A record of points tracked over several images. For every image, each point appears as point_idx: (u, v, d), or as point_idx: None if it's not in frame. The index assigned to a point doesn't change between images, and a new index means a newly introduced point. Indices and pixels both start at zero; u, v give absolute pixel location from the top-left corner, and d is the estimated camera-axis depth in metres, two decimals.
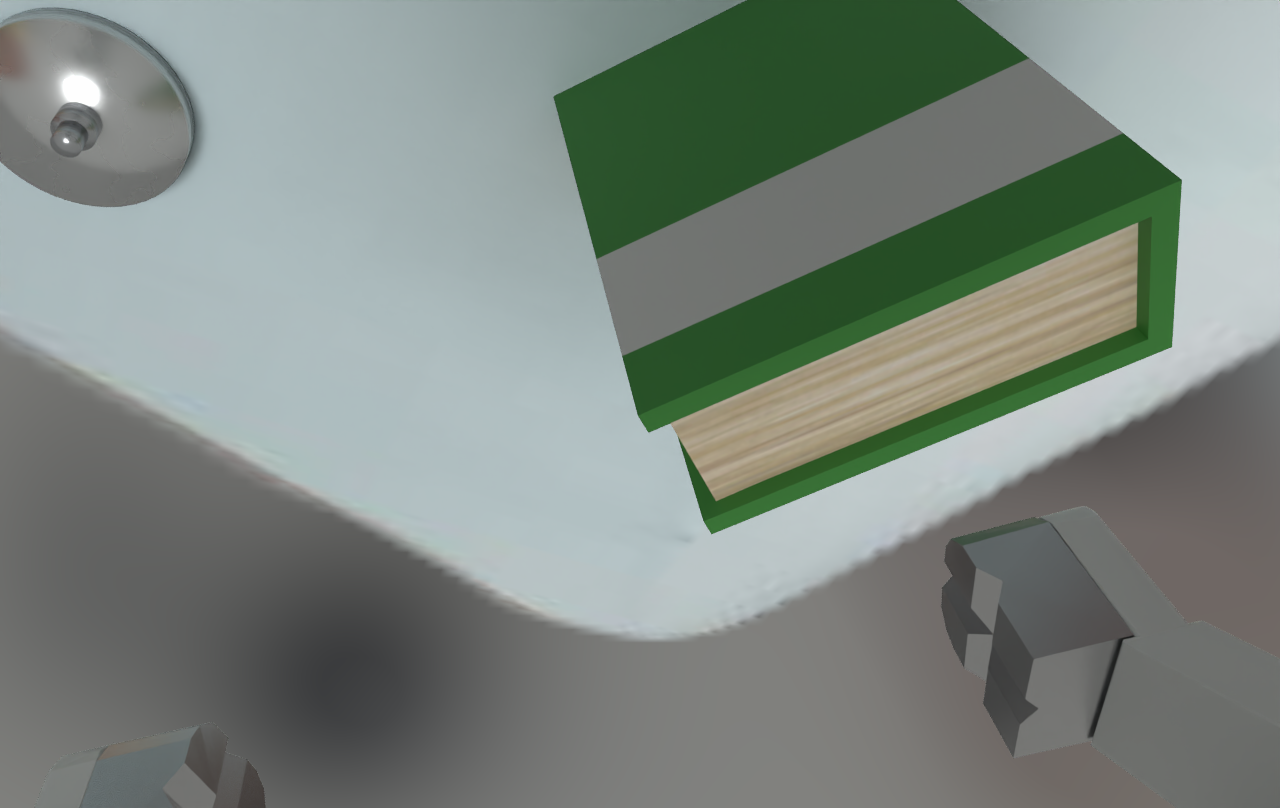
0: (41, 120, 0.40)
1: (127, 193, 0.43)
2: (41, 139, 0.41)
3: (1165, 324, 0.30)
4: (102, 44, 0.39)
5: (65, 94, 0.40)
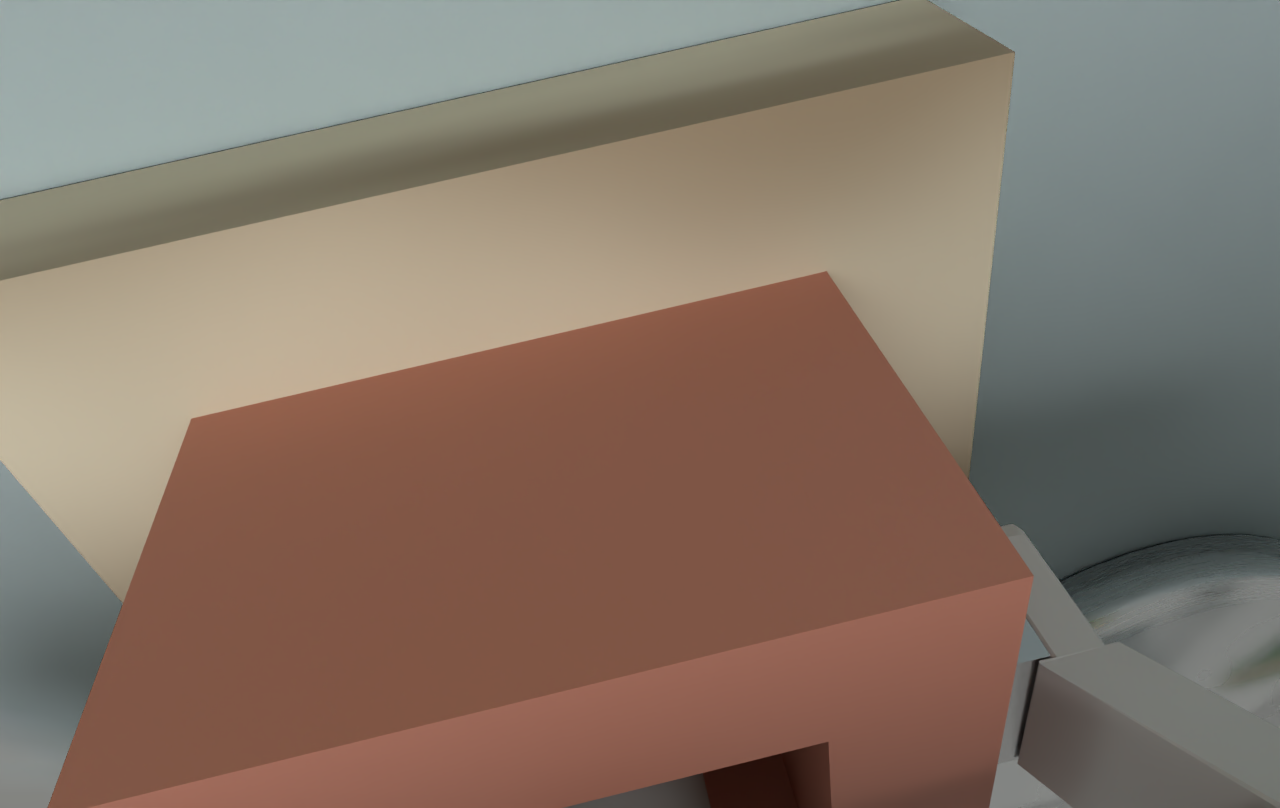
0: None
1: None
2: None
3: None
4: None
5: None
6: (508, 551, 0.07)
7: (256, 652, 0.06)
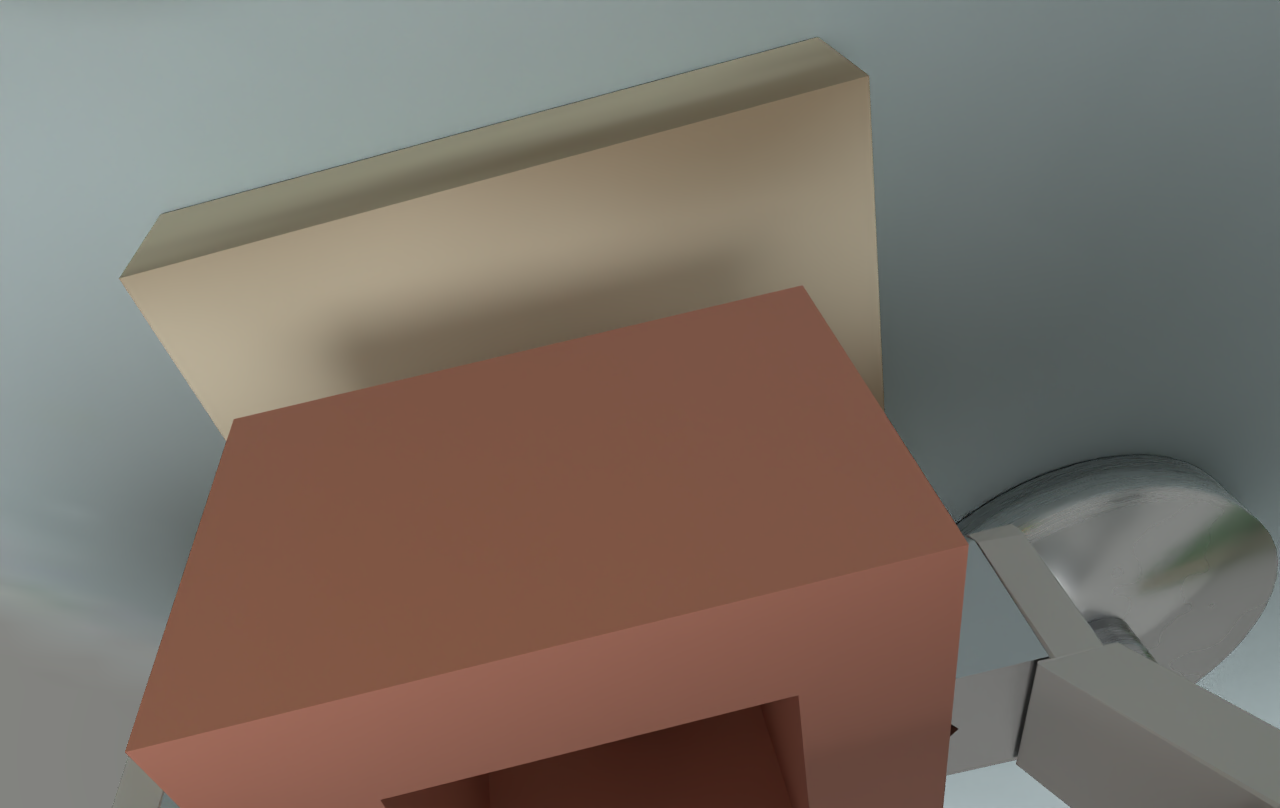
0: None
1: None
2: None
3: None
4: (1226, 526, 0.19)
5: (1100, 607, 0.20)
6: (519, 529, 0.07)
7: (302, 616, 0.07)
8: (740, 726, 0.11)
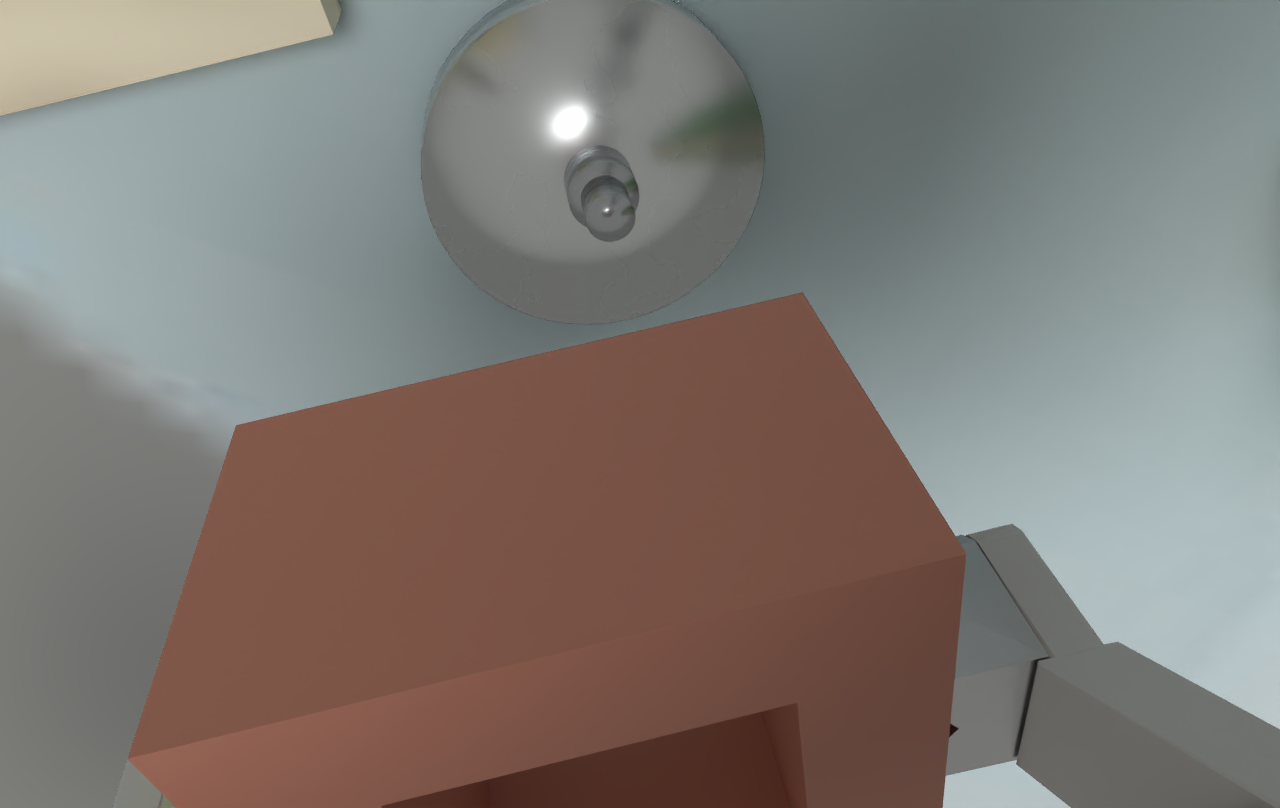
0: (536, 179, 0.23)
1: (626, 301, 0.25)
2: (524, 212, 0.23)
3: None
4: (682, 38, 0.21)
5: (590, 132, 0.22)
6: (518, 536, 0.08)
7: (303, 623, 0.07)
8: (740, 731, 0.11)
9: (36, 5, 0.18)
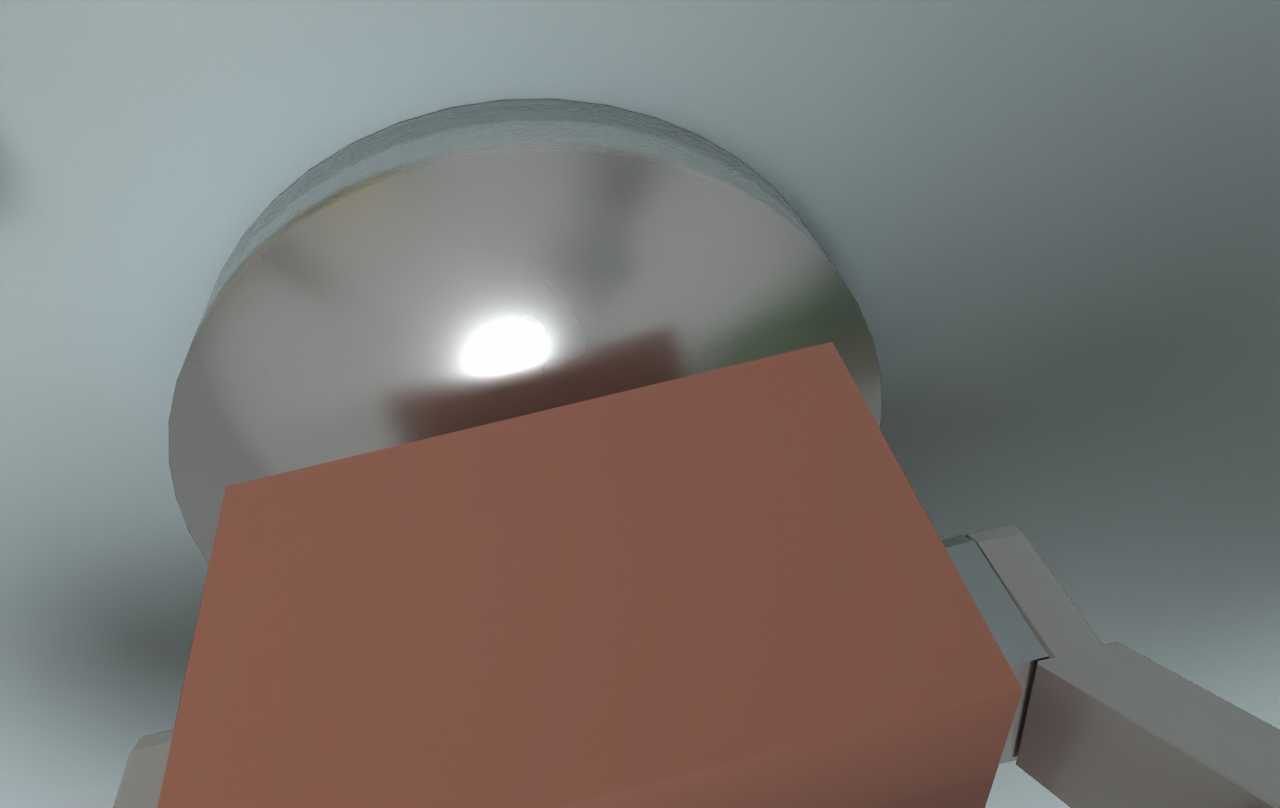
0: None
1: None
2: None
3: None
4: (734, 239, 0.10)
5: (533, 409, 0.11)
6: (542, 648, 0.07)
7: (314, 746, 0.07)
8: None
9: None
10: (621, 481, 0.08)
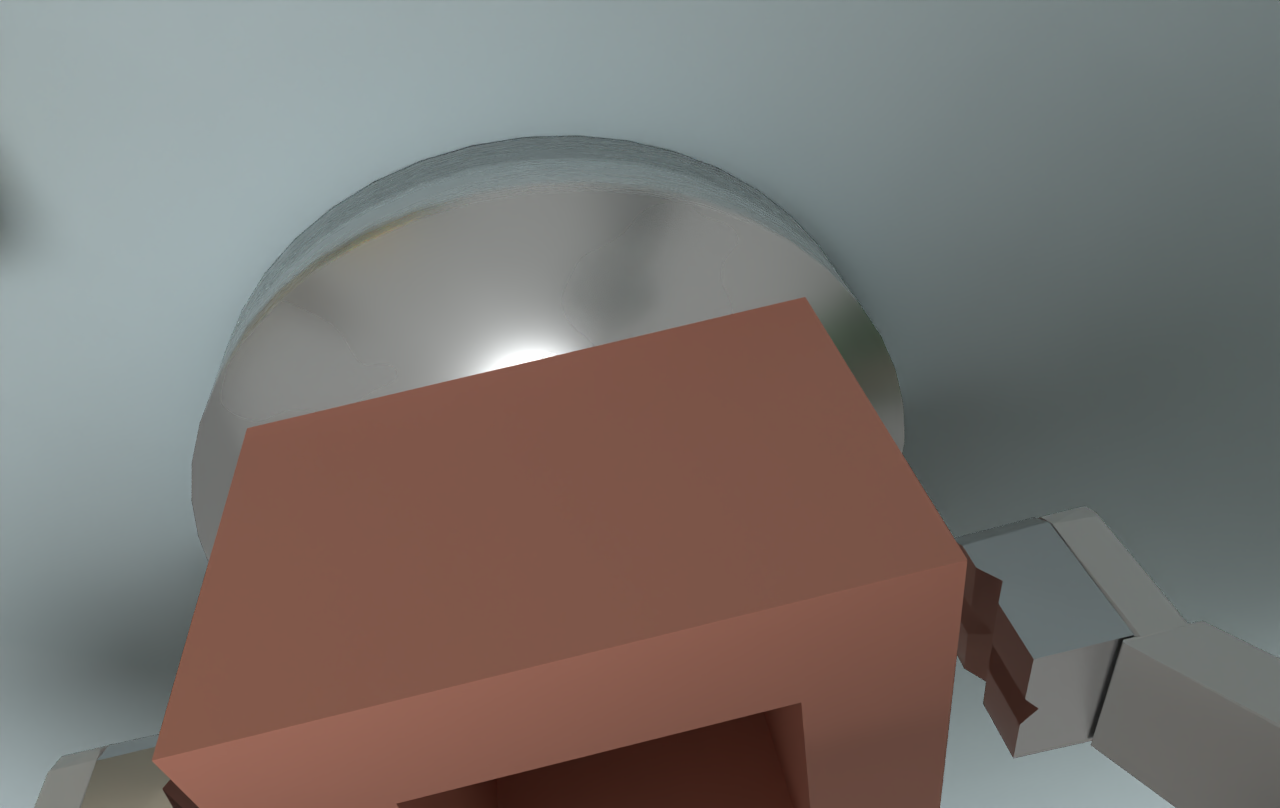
0: None
1: None
2: None
3: None
4: (757, 274, 0.10)
5: None
6: (530, 543, 0.08)
7: (319, 625, 0.07)
8: (742, 725, 0.11)
9: None
10: (608, 411, 0.09)
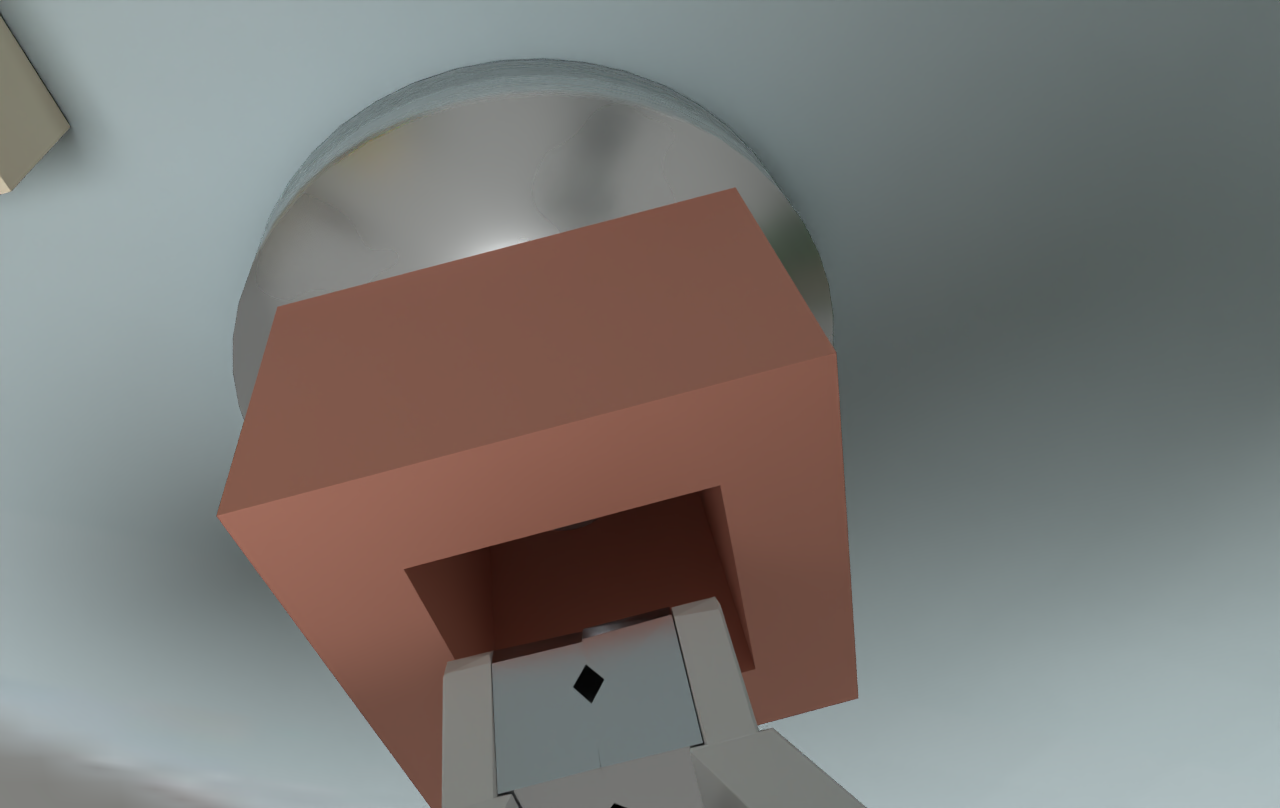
0: None
1: None
2: None
3: None
4: (693, 167, 0.12)
5: None
6: (504, 365, 0.10)
7: (340, 428, 0.09)
8: (699, 564, 0.14)
9: None
10: (569, 276, 0.11)
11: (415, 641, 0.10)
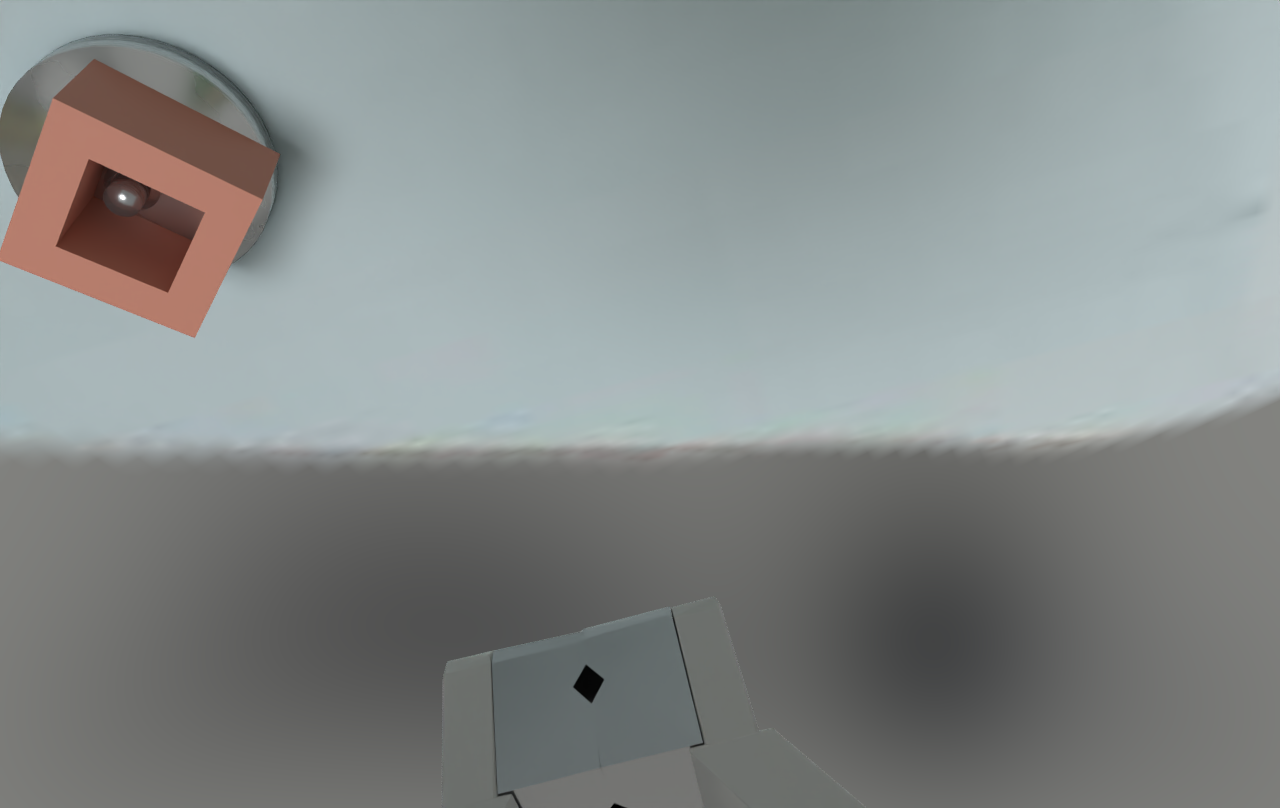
0: None
1: None
2: None
3: None
4: (75, 65, 0.30)
5: None
6: None
7: None
8: None
9: None
10: None
11: (92, 269, 0.30)
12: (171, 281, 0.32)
